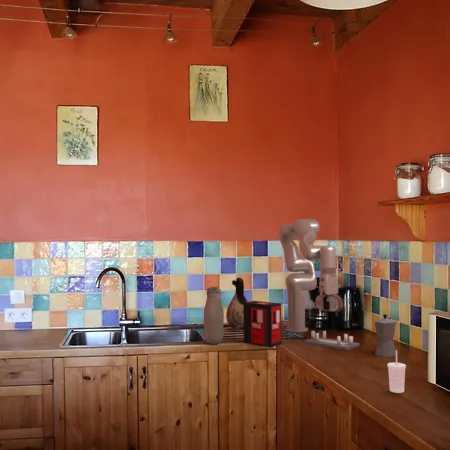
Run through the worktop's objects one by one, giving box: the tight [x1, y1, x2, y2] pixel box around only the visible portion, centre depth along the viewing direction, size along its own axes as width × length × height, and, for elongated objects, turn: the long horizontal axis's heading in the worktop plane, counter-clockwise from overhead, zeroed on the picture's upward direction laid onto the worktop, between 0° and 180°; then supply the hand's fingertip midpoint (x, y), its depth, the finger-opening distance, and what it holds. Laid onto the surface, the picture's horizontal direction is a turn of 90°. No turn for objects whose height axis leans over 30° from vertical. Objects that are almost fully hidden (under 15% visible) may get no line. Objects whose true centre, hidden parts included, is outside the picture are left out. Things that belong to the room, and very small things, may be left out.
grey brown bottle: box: [203, 286, 225, 345], centre depth 254 cm, size 10×10×28 cm
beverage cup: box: [387, 349, 407, 394], centre depth 177 cm, size 6×6×14 cm
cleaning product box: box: [243, 300, 283, 348], centre depth 254 cm, size 16×9×20 cm, turn 51°
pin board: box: [304, 330, 360, 351], centre depth 250 cm, size 24×12×5 cm, turn 47°
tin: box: [314, 293, 344, 313], centre depth 251 cm, size 15×3×8 cm, turn 44°
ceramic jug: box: [225, 277, 249, 333], centre depth 288 cm, size 17×15×30 cm
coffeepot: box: [374, 314, 397, 358], centre depth 229 cm, size 15×9×18 cm, turn 150°
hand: (328, 308), depth 251 cm, fingers closed on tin, 2 cm apart
